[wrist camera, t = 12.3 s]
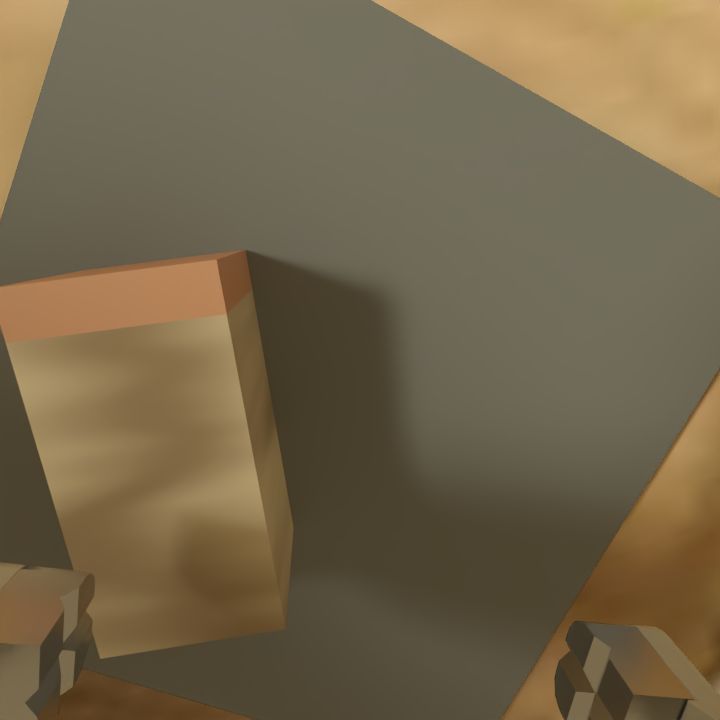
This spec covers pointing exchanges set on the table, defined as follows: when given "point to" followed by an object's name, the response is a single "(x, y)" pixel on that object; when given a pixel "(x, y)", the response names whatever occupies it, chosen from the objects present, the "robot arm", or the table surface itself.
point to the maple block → (158, 445)
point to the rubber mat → (378, 329)
